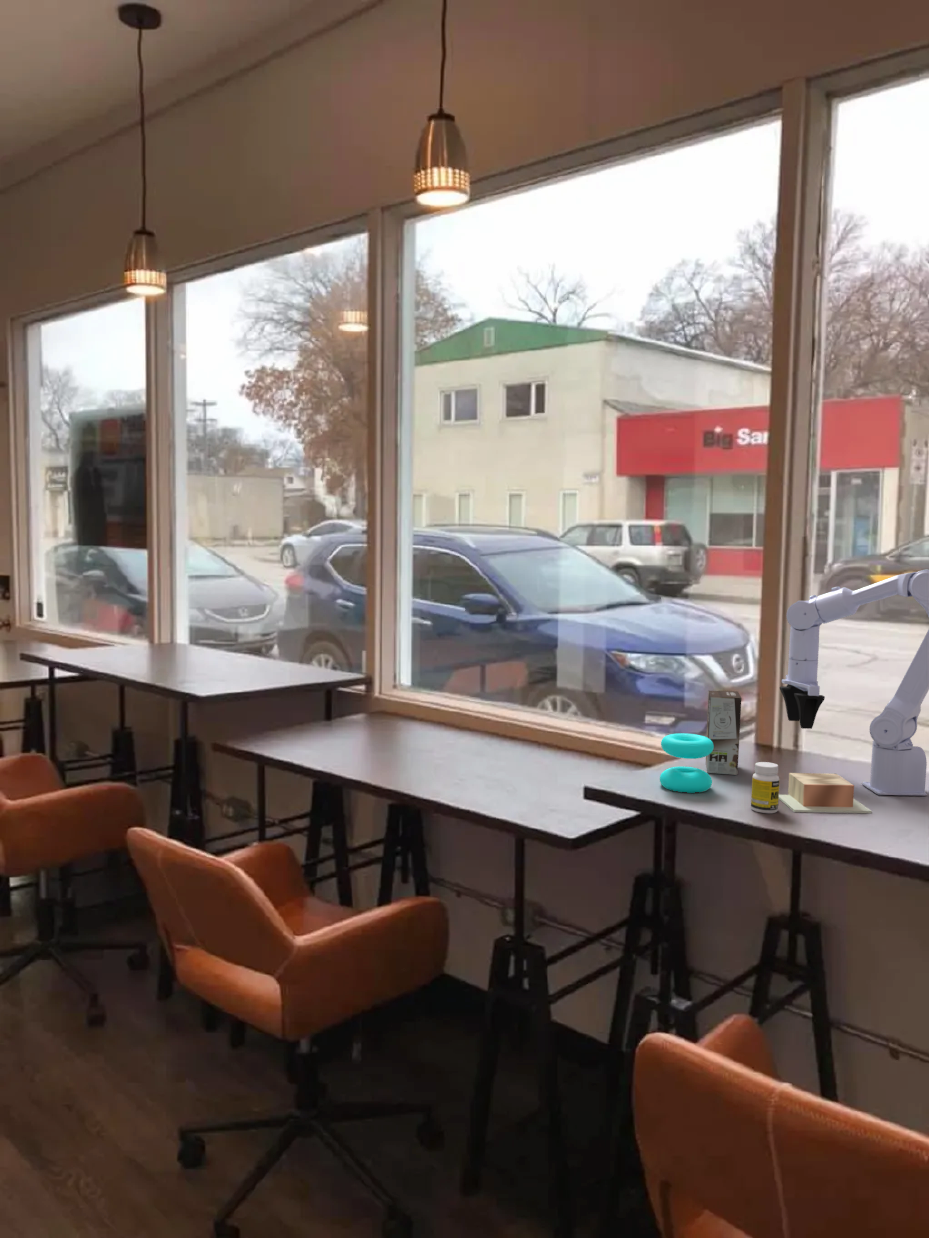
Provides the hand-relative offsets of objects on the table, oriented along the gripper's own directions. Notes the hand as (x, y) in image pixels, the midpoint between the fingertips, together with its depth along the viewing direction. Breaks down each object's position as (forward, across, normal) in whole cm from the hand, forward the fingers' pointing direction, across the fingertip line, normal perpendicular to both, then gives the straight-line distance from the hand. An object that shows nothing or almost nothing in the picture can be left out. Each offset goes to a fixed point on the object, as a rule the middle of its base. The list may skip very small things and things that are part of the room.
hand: (799, 724), depth 205 cm
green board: (+10, +22, -3) cm, 25 cm away
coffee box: (+11, -3, -15) cm, 19 cm away
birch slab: (+8, +17, -3) cm, 19 cm away
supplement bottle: (+11, +26, -15) cm, 32 cm away
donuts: (+11, +12, -26) cm, 31 cm away
